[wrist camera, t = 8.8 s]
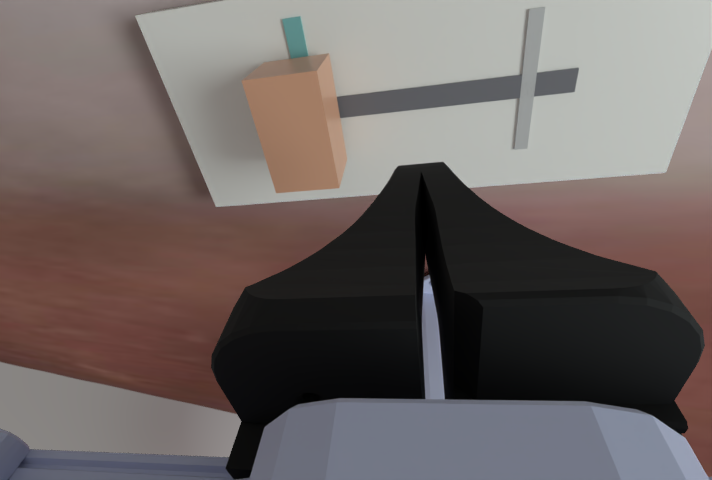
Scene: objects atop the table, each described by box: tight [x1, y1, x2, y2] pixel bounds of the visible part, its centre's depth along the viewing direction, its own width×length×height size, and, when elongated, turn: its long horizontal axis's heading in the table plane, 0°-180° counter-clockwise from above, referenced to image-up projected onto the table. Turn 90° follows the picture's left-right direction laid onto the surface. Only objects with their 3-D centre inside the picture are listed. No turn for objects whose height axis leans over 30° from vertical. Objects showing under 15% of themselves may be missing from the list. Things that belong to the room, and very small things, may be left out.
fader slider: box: [242, 53, 347, 193], centre depth 17 cm, size 3×5×3 cm, turn 8°
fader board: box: [135, 0, 712, 207], centre depth 18 cm, size 24×10×2 cm, turn 98°
